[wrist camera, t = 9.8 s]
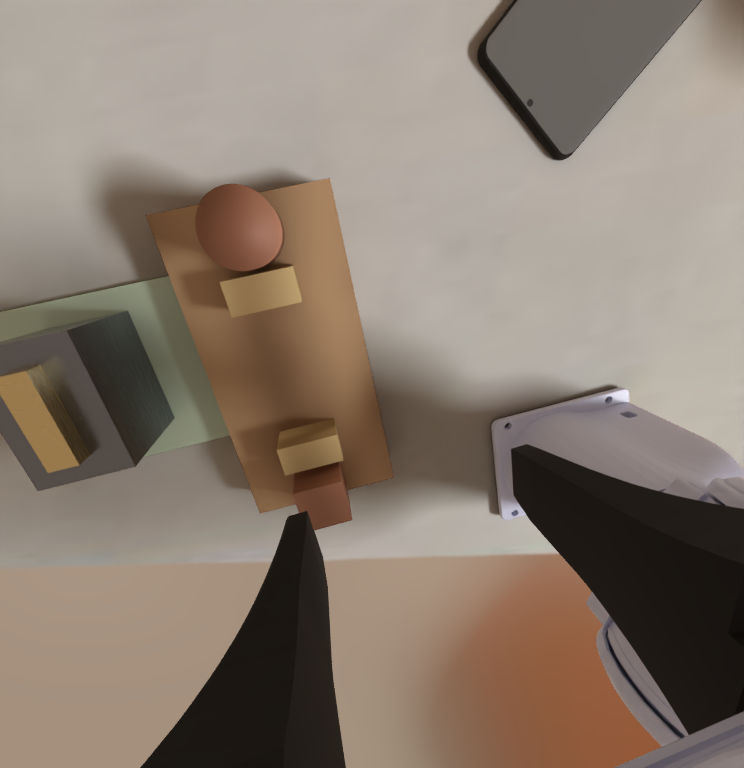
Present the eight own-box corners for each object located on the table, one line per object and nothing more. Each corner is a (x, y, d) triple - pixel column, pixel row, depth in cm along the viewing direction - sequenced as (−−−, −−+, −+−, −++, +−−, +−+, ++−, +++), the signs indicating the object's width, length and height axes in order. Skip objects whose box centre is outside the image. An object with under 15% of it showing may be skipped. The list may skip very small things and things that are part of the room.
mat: (172, 275, 19) (169, 275, 18) (232, 432, 22) (231, 435, 21) (-18, 315, 18) (-25, 317, 17) (73, 471, 21) (68, 475, 21)
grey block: (127, 310, 18) (52, 334, 13) (174, 417, 21) (126, 476, 15) (43, 329, 18) (-70, 361, 13) (100, 436, 20) (24, 503, 15)
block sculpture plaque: (327, 185, 18) (333, 163, 14) (387, 460, 24) (405, 510, 19) (162, 219, 18) (110, 207, 13) (263, 492, 23) (252, 552, 19)
